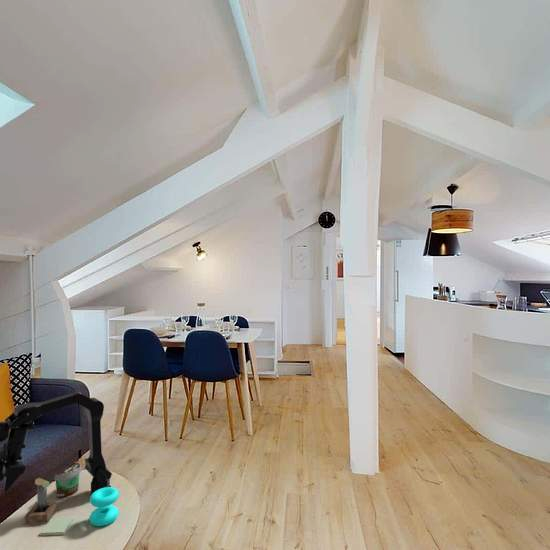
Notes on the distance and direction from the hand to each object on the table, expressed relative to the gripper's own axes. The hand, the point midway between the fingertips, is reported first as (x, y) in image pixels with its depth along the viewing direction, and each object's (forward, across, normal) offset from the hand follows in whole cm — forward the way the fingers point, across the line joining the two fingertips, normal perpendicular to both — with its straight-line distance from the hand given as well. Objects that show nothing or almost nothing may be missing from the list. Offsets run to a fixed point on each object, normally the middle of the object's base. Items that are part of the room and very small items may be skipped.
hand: (2, 485), depth 139 cm
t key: (+12, +2, +16) cm, 20 cm away
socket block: (+12, +2, +16) cm, 20 cm away
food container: (+9, -8, +28) cm, 31 cm away
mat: (+11, +13, +18) cm, 25 cm away
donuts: (+8, +20, +32) cm, 38 cm away
